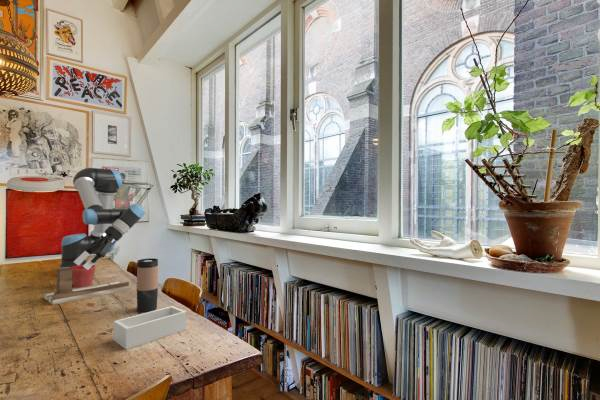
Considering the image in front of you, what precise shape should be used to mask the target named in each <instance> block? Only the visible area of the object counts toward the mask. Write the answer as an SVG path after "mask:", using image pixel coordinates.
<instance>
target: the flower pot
mask: <svg viewBox="0 0 600 400" xmlns="http://www.w3.org/2000/svg"><path fill="white" fill-rule="evenodd" d="M71 268H72V288H81V287H87V286H92V284H93V279H94V276H95V270H96V265H95V264H94V265H93V266H92V267H91V268H90V269H89V270H87V269H86V268H84V267H83V265H79V266H74V267H71Z"/></svg>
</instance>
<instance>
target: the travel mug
mask: <svg viewBox="0 0 600 400" xmlns="http://www.w3.org/2000/svg"><path fill="white" fill-rule="evenodd" d="M136 267H137V268H136V269H137V270H136V271H137V272H136V310H137V312H138V313H140V314H143V313H147V312H151V311H155V310H158V309H157V308H158V293H159V291H158V290H159V259H158V258H152V257H151V258H150V257H149V258H142V259H138V260H137V266H136Z"/></svg>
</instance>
